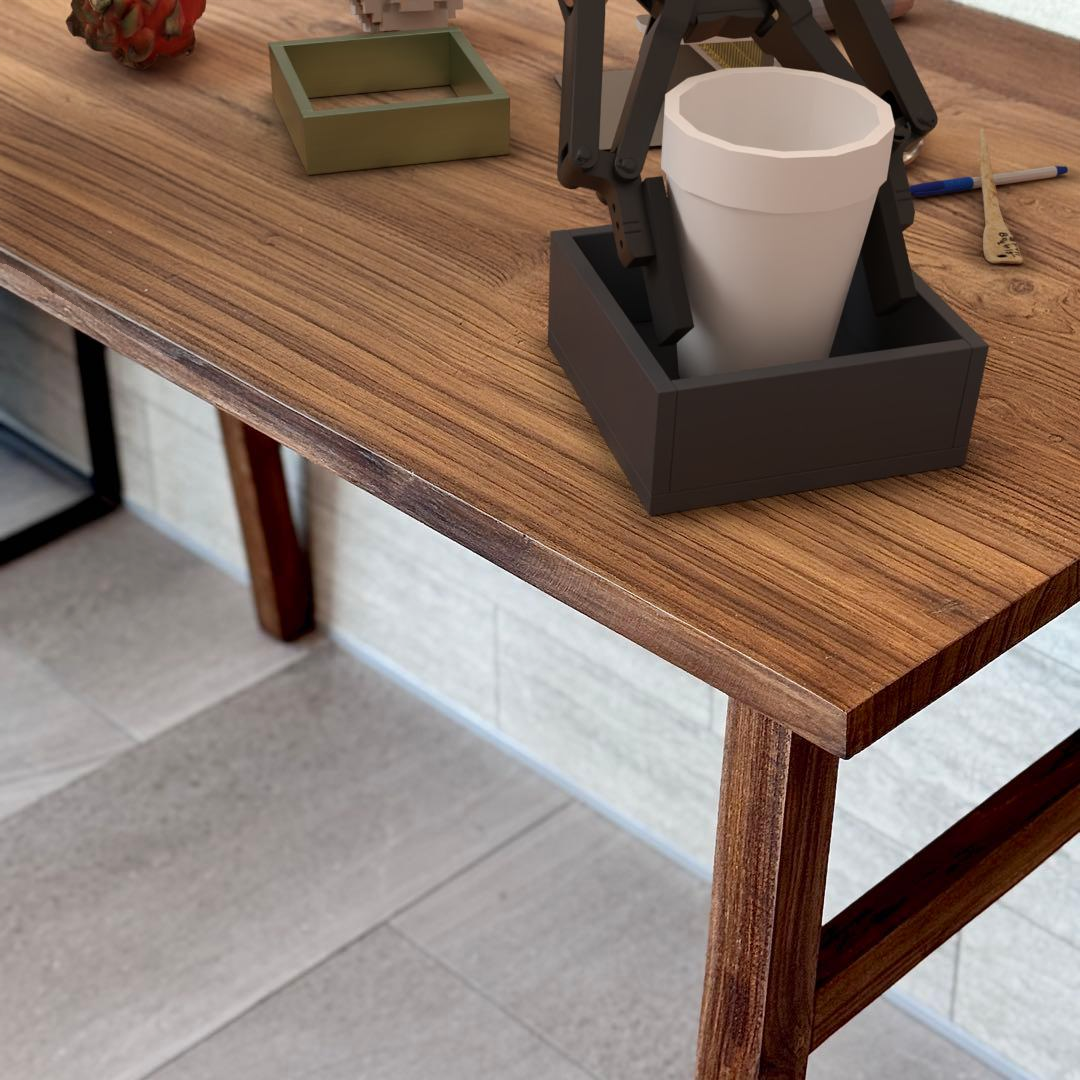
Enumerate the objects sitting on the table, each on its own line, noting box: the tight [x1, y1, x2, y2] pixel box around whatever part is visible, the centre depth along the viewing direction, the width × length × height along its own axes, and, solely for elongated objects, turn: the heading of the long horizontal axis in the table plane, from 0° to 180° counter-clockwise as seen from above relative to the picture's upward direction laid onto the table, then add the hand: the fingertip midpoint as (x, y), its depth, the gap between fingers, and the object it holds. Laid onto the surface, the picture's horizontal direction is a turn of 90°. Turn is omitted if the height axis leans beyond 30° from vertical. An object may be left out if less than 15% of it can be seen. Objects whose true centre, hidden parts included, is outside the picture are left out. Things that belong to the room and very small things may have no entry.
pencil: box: [809, 0, 915, 32], centre depth 115 cm, size 11×3×3 cm, turn 118°
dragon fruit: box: [64, 0, 207, 71], centre depth 107 cm, size 8×8×12 cm
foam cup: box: [660, 67, 895, 379], centre depth 72 cm, size 10×9×13 cm
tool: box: [978, 127, 1024, 265], centre depth 93 cm, size 14×1×2 cm
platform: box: [553, 10, 783, 150], centre depth 103 cm, size 12×18×7 cm, turn 102°
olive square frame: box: [267, 25, 511, 176], centre depth 100 cm, size 12×12×4 cm
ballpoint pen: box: [909, 165, 1069, 198], centre depth 96 cm, size 10×1×1 cm
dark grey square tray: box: [547, 223, 990, 517], centre depth 75 cm, size 15×15×6 cm
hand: (787, 321), depth 71 cm, fingers closed on foam cup, 9 cm apart
